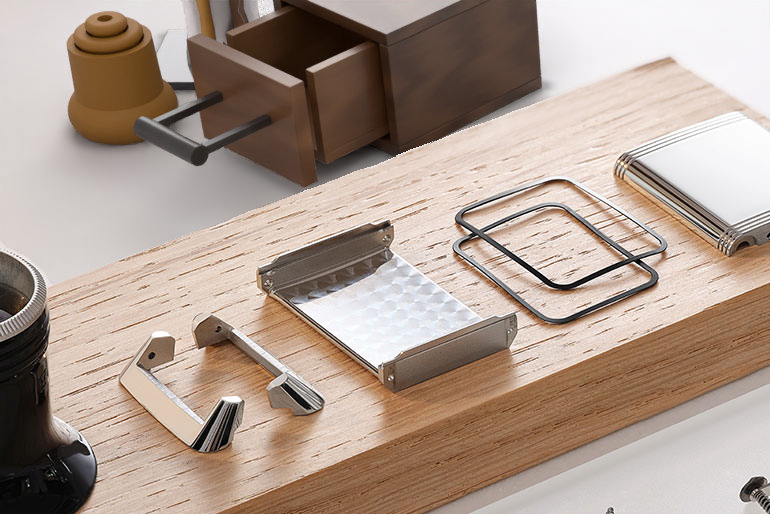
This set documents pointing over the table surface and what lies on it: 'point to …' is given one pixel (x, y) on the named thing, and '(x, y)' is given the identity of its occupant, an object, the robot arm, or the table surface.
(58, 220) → the table surface
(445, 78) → the cabinet
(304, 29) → the drawer
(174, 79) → the coaster
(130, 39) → the ornamental finial
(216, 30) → the beer glass
